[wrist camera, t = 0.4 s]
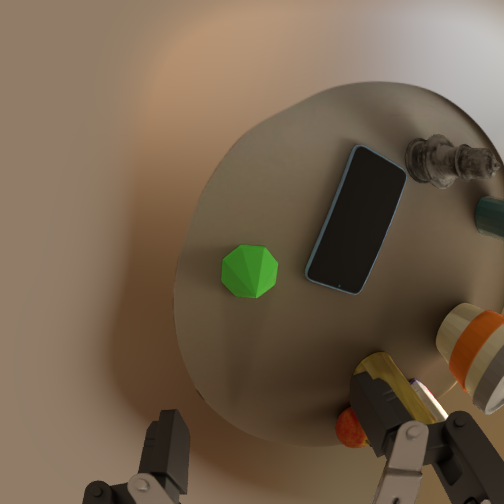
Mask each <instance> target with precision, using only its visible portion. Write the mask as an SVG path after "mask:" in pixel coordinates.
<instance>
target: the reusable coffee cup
mask: <svg viewBox="0 0 504 504" xmlns="http://www.w3.org/2000/svg"><path fill="white" fill-rule="evenodd" d="M436 347H437V349H438V351H439V352H440V353H441V355H442V356H443V357H444V359H445V360H446V361H447V363H448V364H449V369H450V371H451V373H452V374H453V376H454V377H455V379H456V380H457V381H458V383H459V384H460V386H461V387H462V389H463V390H464V391H465V392H469V394H470V395H471V397H472V398H473V404H474V405H476V406H477V407H478V408H479V409H480V410H482V411H483V412H484V413H485V414H486V415H489V414H491V413H494V412H495V411H496V410H498V409H499V408H500V407H501V406H502V405H504V316H503V315H501V314H499V313H496V312H494V311H491V310H486V311H485V310H482V309H480V308H478V307H476V306H473V305H471V304H469V303H462V304H459V305H458V306H456V307H455V308H454V309H453V310H451V312H450V313H449V314H448V315H447V316H446V318H445V319H444V321H443V322H442V324H441V326H440V328H439V330H438V333H437V337H436Z"/></svg>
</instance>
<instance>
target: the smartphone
mask: <svg viewBox="0 0 504 504" xmlns="http://www.w3.org/2000/svg"><path fill="white" fill-rule="evenodd" d="M406 179H407V174H406V172H405V170H404V169H403V168H401V167H400V166H398V165H397V164H395V163H393V162H392V161H390V160H388V159H387V158H385V157H383V156H382V155H380V154H378V153H377V152H375V151H373V150H371V149H370V148H368V147H366V146H364V145H357V146H355V147H354V148H353V149H352V151H351V154H350V157H349V159H348V162H347V165H346V168H345V170H344V173H343V176H342V179H341V181H340V184H339V186H338V189H337V192H336V194H335V197H334V200H333V202H332V205H331V207H330V210H329V212H328V215H327V217H326V220H325V222H324V225H323V227H322V229H321V232H320V235H319V237H318V239H317V242H316V244H315V246H314V249H313V251H312V253H311V256H310V259H309V261H308V263H307V266H306V268H305V276H306V278H307V279H308V280H310V281H312V282H314V283H317V284H321V285H324V286H327V287H330V288H333V289H336V290H339V291H342V292H345V293H348V294H353V295H354V294H358V293H359V292H360V291H361V290H362V289H363V287H364V285H365V283H366V280H367V278H368V276H369V274H370V272H371V270H372V267H373V265H374V263H375V261H376V258H377V256H378V254H379V251H380V249H381V247H382V244H383V242H384V240H385V237H386V235H387V232H388V230H389V227H390V225H391V222H392V219H393V217H394V214H395V211H396V209H397V206H398V203H399V201H400V198H401V195H402V192H403V189H404V186H405V183H406Z"/></svg>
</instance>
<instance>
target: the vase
mask: <svg viewBox="0 0 504 504" xmlns="http://www.w3.org/2000/svg"><path fill="white" fill-rule="evenodd" d="M364 371H367V372H368V373H369V374H370V375H371V377H372V378H373V379H376V378H381V379H383V380H384V381H386V382H387V383H388V384H389V385H390V387H391V388H392V389H393V392H395V394H396V395H397V397H398V398H399V399H400V401H401V402H402V403H403V405H404V406H405V408H406V409H407V410H408V412H409V413H410V415H411V416H412V418H413V419H414V420H416V421H421V422H423V423H424V424H433V423H438V421H437V420H436V418H435V417H434V416H433V414H432V413H431V412H430V410H429V409H428V408H427V407H426V405H425V404H424V402H423V401H422V400H421V398H420V397H419V396H418V394H417V393H416V392H415V390H414V389H413V388H412V386H411V385H410V383H409V382H408V381H407V380H406V378H405V377H404V375H403V374H402V372H401V371H400V370H399V368H398V367H397V366H396V365H395V363H394V362H393V360H392V358H391V356H390V355H389V354H388V353H385V352H377V353H374V354H371V355H369V356H368V357H366V358H365V359H364V360H362V361H361V362H360V363H359V365H358V366H357V367H356V369H355V371H354V375H355V374H358V373H361V372H364Z"/></svg>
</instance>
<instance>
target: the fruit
mask: <svg viewBox="0 0 504 504" xmlns="http://www.w3.org/2000/svg"><path fill="white" fill-rule="evenodd" d="M335 429H336V434H337V437H338V439H339V440H340V441H341V443H343V444H344V445H345V446H347V447H350V448H361V447H364V446H366V445H368V444H369V445H370V446H371V444H370V442H369V440H368V438H367V436H366V434H365V432H364V430H363V428H362V426H361V425H360V423H359V421H358V419H357V417H356V415H355V413H354V411H353V409H352V407H349V408H347V409H346V410H344V411H343V412H342V413H341V415H340V416H339V418H338V420H337V422H336V427H335ZM371 447H372V446H371Z"/></svg>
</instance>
